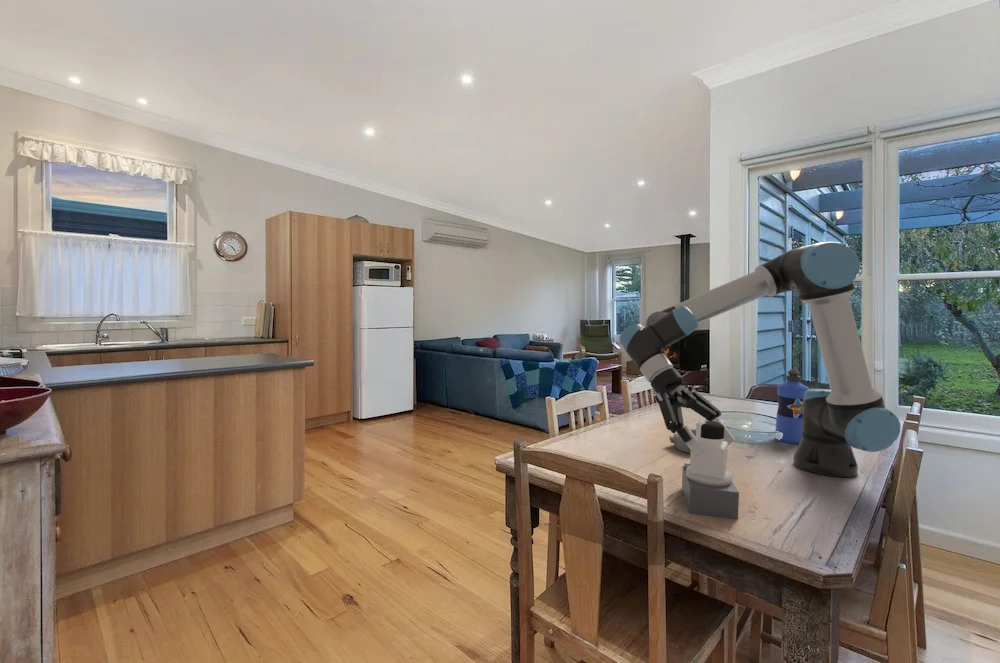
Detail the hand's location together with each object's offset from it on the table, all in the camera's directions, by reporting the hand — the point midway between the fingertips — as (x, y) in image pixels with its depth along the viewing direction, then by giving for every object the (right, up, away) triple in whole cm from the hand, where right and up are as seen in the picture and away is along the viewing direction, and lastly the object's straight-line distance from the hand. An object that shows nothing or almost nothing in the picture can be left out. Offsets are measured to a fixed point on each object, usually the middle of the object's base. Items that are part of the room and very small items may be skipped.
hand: (716, 448), depth 106 cm
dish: (+13, -12, +43) cm, 46 cm away
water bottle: (+51, -11, +53) cm, 75 cm away
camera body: (-1, -14, +2) cm, 14 cm away
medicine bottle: (-1, -6, +2) cm, 7 cm away
